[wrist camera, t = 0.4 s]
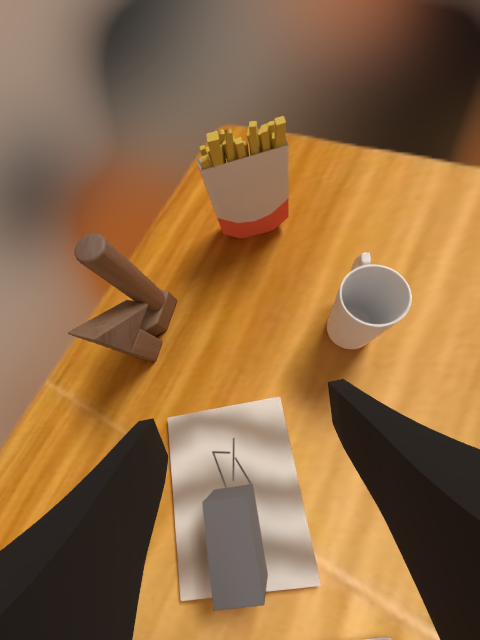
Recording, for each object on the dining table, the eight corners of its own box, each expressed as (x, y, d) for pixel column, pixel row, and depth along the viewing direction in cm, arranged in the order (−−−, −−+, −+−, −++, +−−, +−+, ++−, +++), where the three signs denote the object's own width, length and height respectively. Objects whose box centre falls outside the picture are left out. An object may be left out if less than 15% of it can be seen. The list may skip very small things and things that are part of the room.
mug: (377, 352, 36) (417, 326, 25) (325, 351, 37) (341, 327, 26) (369, 285, 39) (401, 235, 28) (322, 286, 40) (335, 239, 29)
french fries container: (222, 222, 47) (186, 119, 31) (282, 206, 46) (278, 90, 29) (226, 243, 46) (190, 147, 29) (288, 227, 45) (288, 117, 28)
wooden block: (136, 357, 42) (34, 323, 25) (159, 296, 45) (81, 228, 28) (156, 362, 41) (65, 331, 24) (178, 300, 44) (110, 232, 27)
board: (319, 580, 29) (320, 585, 29) (183, 595, 31) (180, 601, 30) (280, 396, 36) (279, 396, 35) (170, 417, 38) (167, 417, 37)
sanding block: (268, 574, 30) (264, 605, 25) (225, 579, 30) (213, 610, 25) (253, 483, 33) (247, 495, 28) (214, 489, 33) (202, 502, 29)
